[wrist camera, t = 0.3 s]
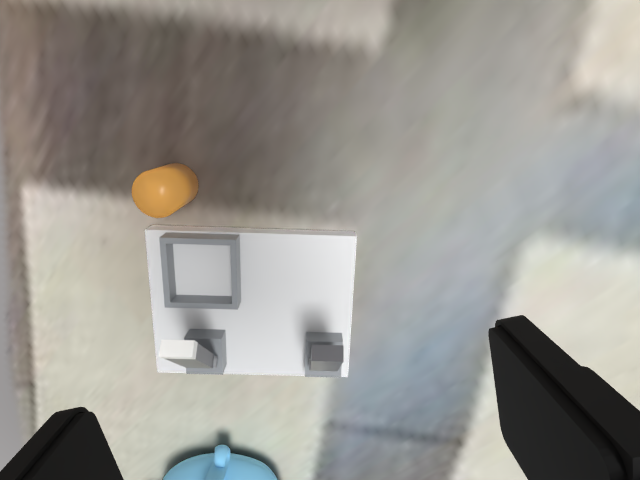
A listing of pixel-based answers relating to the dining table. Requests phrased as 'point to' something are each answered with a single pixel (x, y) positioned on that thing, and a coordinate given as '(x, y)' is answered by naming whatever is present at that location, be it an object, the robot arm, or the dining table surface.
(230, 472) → the decorative pot
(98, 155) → the dining table surface
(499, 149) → the dining table surface
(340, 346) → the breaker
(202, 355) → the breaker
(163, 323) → the panel
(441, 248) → the dining table surface
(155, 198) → the cap
